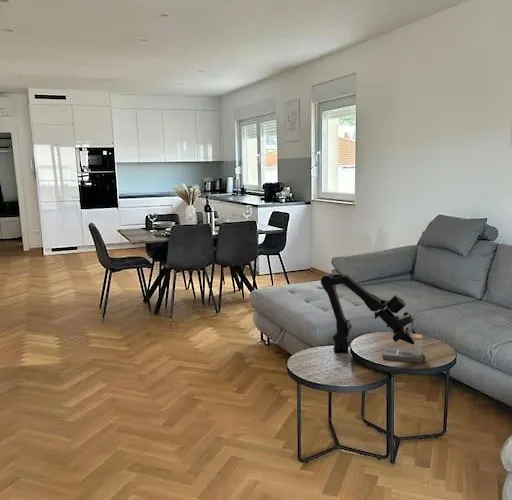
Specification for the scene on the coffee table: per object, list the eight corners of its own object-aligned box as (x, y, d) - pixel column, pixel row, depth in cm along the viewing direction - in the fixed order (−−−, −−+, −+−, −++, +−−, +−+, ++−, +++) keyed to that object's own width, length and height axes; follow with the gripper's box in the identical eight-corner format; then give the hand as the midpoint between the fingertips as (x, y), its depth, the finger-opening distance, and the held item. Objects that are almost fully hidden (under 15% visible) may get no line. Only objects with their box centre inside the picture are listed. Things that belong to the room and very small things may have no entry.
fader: (413, 355, 231) (414, 337, 230) (414, 351, 236) (414, 333, 234) (420, 356, 230) (421, 338, 228) (421, 352, 235) (422, 334, 233)
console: (382, 358, 235) (382, 354, 234) (385, 351, 244) (385, 347, 243) (422, 362, 228) (422, 358, 227) (423, 355, 237) (423, 350, 237)
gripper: (400, 314, 223) (425, 339, 221) (404, 303, 241) (428, 326, 238) (382, 329, 228) (407, 354, 225) (387, 317, 245) (410, 341, 242)
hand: (413, 343), depth 233 cm, fingers closed, pressing on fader
